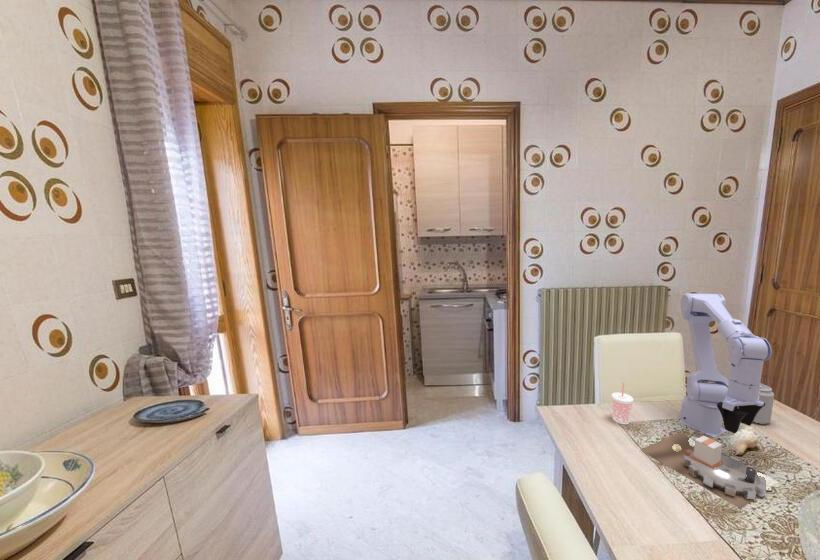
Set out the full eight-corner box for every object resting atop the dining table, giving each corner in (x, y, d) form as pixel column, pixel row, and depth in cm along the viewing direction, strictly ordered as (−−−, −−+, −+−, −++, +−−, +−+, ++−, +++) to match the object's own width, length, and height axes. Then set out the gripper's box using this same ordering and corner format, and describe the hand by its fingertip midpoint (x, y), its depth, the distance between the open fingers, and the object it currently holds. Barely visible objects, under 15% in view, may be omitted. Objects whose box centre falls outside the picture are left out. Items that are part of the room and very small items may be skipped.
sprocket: (679, 447, 93) (681, 431, 92) (753, 467, 85) (756, 449, 84) (688, 482, 81) (690, 464, 80) (776, 509, 72) (779, 489, 71)
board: (639, 451, 93) (640, 450, 93) (678, 433, 101) (678, 432, 100) (740, 511, 73) (740, 508, 73) (779, 483, 80) (779, 481, 80)
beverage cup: (623, 429, 104) (626, 388, 102) (605, 419, 109) (608, 381, 107) (635, 423, 106) (638, 384, 104) (617, 414, 112) (620, 377, 110)
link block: (693, 456, 86) (695, 439, 86) (701, 451, 88) (703, 435, 87) (711, 466, 83) (713, 448, 82) (720, 461, 84) (722, 443, 84)
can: (735, 410, 112) (739, 378, 110) (766, 417, 108) (771, 383, 106) (740, 420, 106) (744, 387, 104) (773, 428, 102) (778, 393, 100)
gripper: (750, 393, 79) (744, 443, 81) (778, 381, 84) (771, 428, 86) (714, 381, 85) (709, 428, 87) (742, 371, 91) (737, 414, 93)
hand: (737, 427), depth 87 cm, fingers open, 7 cm apart
